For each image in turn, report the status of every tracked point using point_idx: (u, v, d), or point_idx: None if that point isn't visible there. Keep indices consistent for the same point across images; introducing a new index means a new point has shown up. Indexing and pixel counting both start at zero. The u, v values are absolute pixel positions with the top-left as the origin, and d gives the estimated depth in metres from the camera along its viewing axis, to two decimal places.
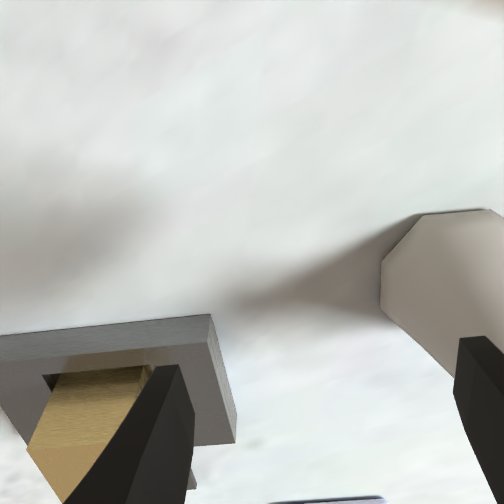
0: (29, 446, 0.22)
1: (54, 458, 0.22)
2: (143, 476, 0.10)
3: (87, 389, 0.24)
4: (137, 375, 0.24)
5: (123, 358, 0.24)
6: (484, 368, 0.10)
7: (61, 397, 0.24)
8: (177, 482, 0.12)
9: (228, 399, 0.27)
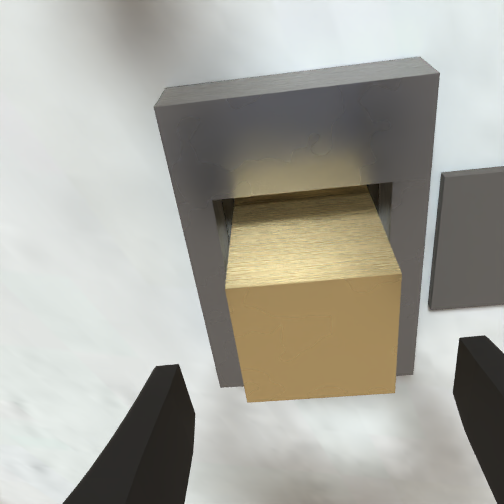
0: None
1: (269, 378, 0.14)
2: (143, 476, 0.10)
3: None
4: (233, 220, 0.16)
5: (201, 233, 0.16)
6: (484, 368, 0.10)
7: None
8: (177, 482, 0.12)
9: (342, 74, 0.14)
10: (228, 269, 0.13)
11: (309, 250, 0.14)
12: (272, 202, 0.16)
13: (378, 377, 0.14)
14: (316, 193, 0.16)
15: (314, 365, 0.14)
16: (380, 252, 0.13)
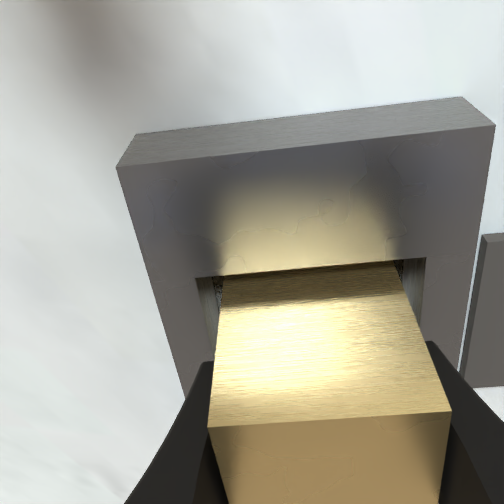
0: None
1: None
2: (204, 472, 0.10)
3: None
4: (222, 303, 0.12)
5: (182, 315, 0.13)
6: None
7: None
8: None
9: (362, 122, 0.11)
10: (212, 391, 0.10)
11: (321, 361, 0.10)
12: (272, 279, 0.13)
13: None
14: (327, 266, 0.13)
15: None
16: (418, 370, 0.10)
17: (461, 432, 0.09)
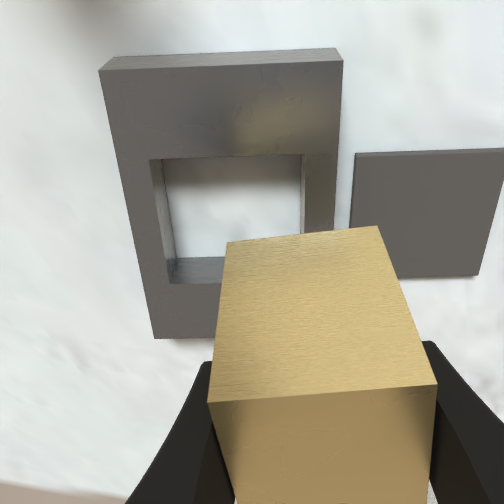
0: None
1: (268, 495, 0.11)
2: (205, 472, 0.10)
3: None
4: (222, 290, 0.13)
5: (138, 189, 0.18)
6: None
7: None
8: (229, 478, 0.11)
9: (265, 56, 0.17)
10: (212, 370, 0.10)
11: (315, 342, 0.11)
12: (269, 267, 0.13)
13: (406, 494, 0.11)
14: (322, 254, 0.13)
15: (324, 482, 0.11)
16: (407, 347, 0.10)
17: (460, 432, 0.09)
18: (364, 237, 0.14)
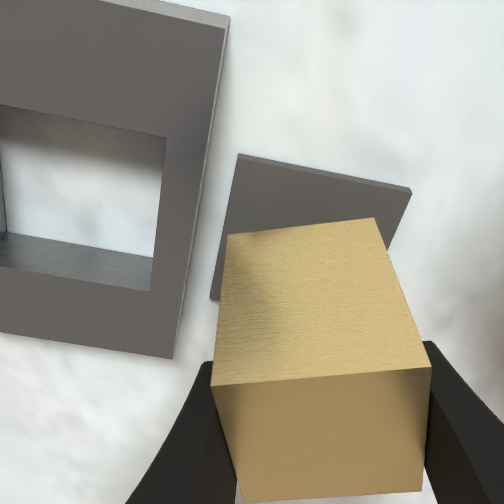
0: None
1: (269, 478, 0.12)
2: (205, 472, 0.10)
3: None
4: (224, 281, 0.13)
5: None
6: None
7: None
8: (230, 478, 0.11)
9: (134, 0, 0.13)
10: (215, 356, 0.11)
11: (314, 328, 0.11)
12: (270, 258, 0.14)
13: (402, 476, 0.12)
14: (321, 245, 0.14)
15: (323, 464, 0.12)
16: (402, 332, 0.10)
17: (460, 432, 0.09)
18: (361, 228, 0.14)
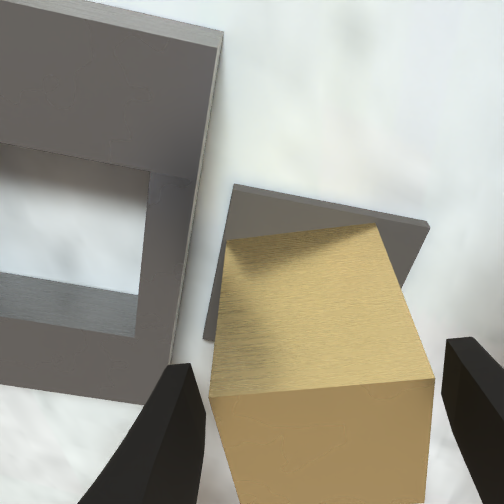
0: None
1: (269, 489, 0.12)
2: (158, 476, 0.10)
3: None
4: (222, 288, 0.13)
5: None
6: (470, 369, 0.10)
7: None
8: (190, 481, 0.12)
9: (111, 14, 0.11)
10: (213, 366, 0.11)
11: (315, 337, 0.11)
12: (269, 264, 0.13)
13: (404, 487, 0.12)
14: (321, 251, 0.14)
15: (324, 476, 0.11)
16: (404, 342, 0.10)
17: None
18: (362, 234, 0.14)
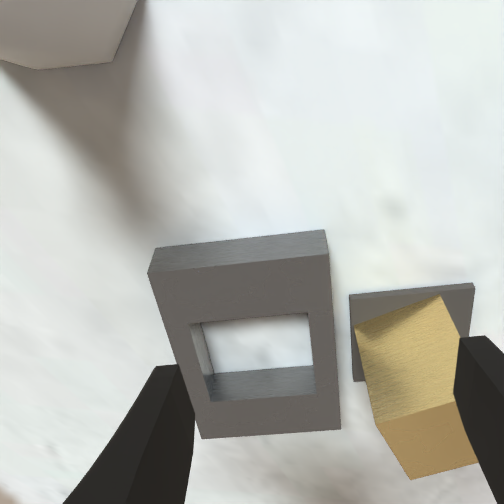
0: None
1: (420, 463, 0.21)
2: (143, 476, 0.10)
3: None
4: (361, 358, 0.23)
5: (181, 343, 0.24)
6: (484, 368, 0.10)
7: None
8: (177, 482, 0.12)
9: (270, 246, 0.22)
10: (372, 407, 0.21)
11: (420, 380, 0.20)
12: (383, 337, 0.23)
13: None
14: (411, 322, 0.23)
15: (448, 450, 0.21)
16: None
17: None
18: (433, 304, 0.23)
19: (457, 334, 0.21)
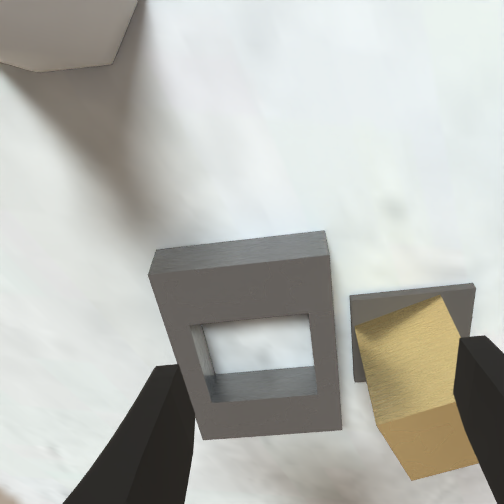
0: (410, 476, 0.22)
1: (421, 464, 0.21)
2: (143, 476, 0.10)
3: None
4: (362, 359, 0.23)
5: (182, 344, 0.24)
6: (484, 368, 0.10)
7: None
8: (177, 482, 0.12)
9: (270, 248, 0.22)
10: (373, 408, 0.21)
11: (421, 381, 0.20)
12: (384, 338, 0.23)
13: None
14: (412, 323, 0.23)
15: (449, 451, 0.21)
16: None
17: None
18: (434, 305, 0.23)
19: (458, 335, 0.21)
